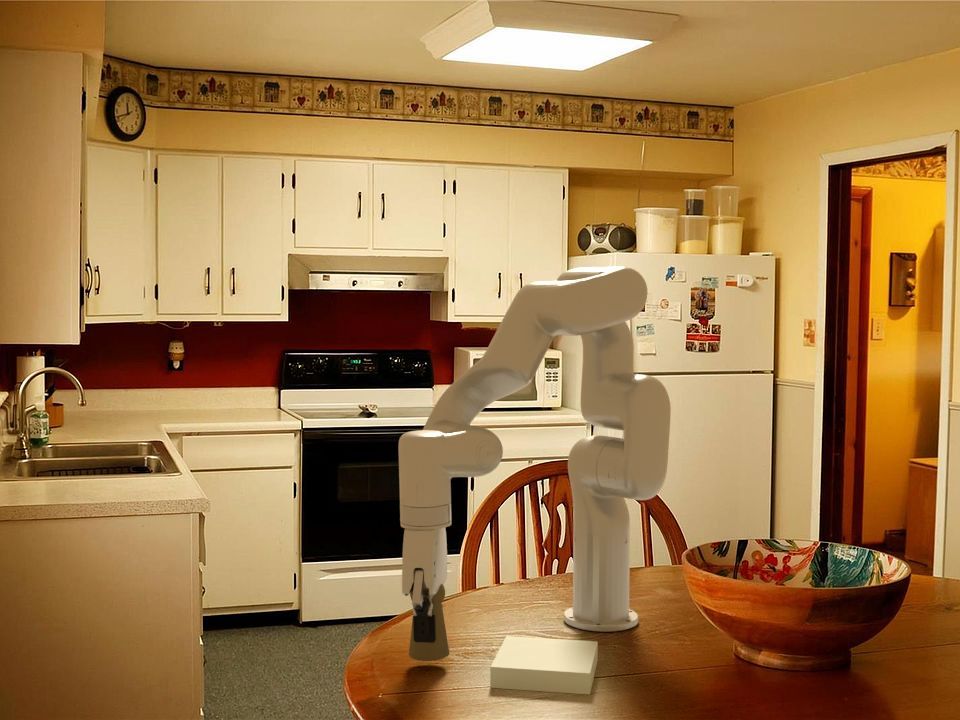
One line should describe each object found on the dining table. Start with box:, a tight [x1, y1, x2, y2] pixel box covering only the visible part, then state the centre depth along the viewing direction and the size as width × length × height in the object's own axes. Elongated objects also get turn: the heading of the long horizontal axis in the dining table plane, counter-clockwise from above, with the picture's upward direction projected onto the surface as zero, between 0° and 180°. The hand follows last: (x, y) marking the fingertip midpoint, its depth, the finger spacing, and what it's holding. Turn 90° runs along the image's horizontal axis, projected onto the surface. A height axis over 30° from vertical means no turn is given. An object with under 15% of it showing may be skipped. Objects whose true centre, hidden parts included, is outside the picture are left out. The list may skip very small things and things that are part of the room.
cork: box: [408, 584, 450, 662], centre depth 158 cm, size 6×6×11 cm
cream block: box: [489, 635, 599, 695], centre depth 156 cm, size 14×14×3 cm
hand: (428, 635), depth 158 cm, fingers closed on cork, 4 cm apart
